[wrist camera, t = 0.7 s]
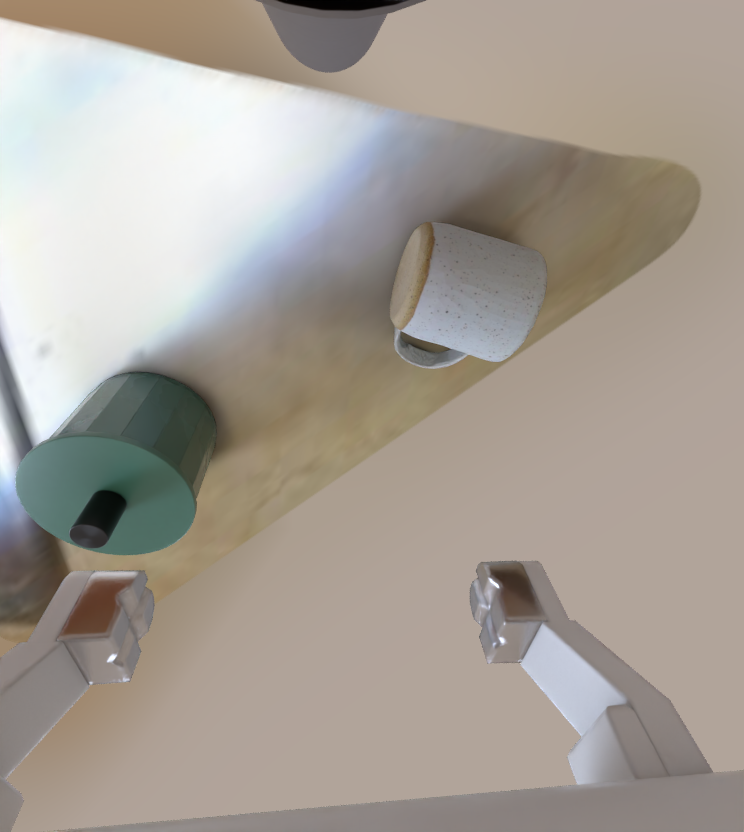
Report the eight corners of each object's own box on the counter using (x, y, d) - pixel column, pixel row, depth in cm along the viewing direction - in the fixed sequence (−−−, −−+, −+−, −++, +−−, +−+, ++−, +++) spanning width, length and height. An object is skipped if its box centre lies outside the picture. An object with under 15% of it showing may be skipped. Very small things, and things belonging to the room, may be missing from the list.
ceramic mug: (411, 205, 28) (434, 229, 22) (519, 238, 30) (570, 269, 24) (368, 347, 34) (377, 398, 28) (462, 368, 36) (491, 421, 29)
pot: (77, 363, 33) (7, 428, 25) (216, 380, 34) (187, 444, 27) (97, 466, 38) (45, 542, 31) (217, 475, 40) (193, 550, 33)
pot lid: (4, 416, 26) (-45, 459, 22) (196, 434, 28) (178, 477, 24) (44, 539, 32) (10, 588, 28) (201, 547, 33) (186, 594, 30)
